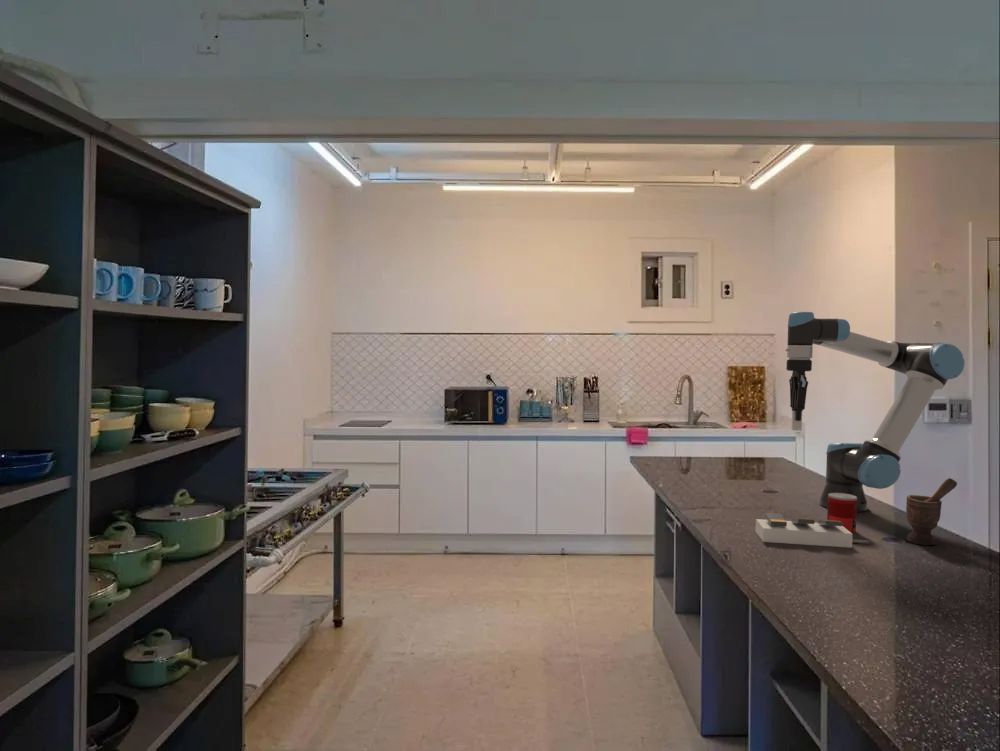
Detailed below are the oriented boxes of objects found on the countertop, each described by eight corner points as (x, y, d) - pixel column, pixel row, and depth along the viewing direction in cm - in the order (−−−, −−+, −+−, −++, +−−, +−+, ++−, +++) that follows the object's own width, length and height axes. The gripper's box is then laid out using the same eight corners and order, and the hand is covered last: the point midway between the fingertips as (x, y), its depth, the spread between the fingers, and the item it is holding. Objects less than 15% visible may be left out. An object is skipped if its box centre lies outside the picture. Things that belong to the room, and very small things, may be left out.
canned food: (859, 535, 194) (861, 499, 193) (831, 533, 195) (832, 497, 195) (850, 527, 201) (852, 493, 200) (823, 526, 203) (825, 491, 202)
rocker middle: (807, 523, 191) (807, 518, 191) (814, 524, 184) (814, 519, 184) (791, 522, 191) (791, 517, 192) (798, 523, 185) (798, 518, 185)
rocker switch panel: (861, 538, 190) (862, 525, 189) (874, 549, 180) (875, 535, 180) (755, 531, 195) (755, 518, 195) (762, 541, 185) (763, 528, 185)
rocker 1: (780, 517, 192) (780, 513, 192) (786, 526, 185) (786, 522, 185) (765, 516, 193) (765, 512, 193) (770, 525, 186) (770, 521, 186)
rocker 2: (834, 524, 189) (833, 520, 189) (842, 526, 182) (842, 521, 183) (818, 523, 190) (818, 519, 190) (825, 525, 183) (825, 520, 183)
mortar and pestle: (945, 540, 189) (948, 474, 188) (956, 549, 181) (960, 480, 180) (900, 536, 192) (904, 471, 191) (909, 545, 184) (913, 477, 183)
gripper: (782, 358, 216) (779, 427, 217) (792, 359, 203) (789, 432, 205) (805, 358, 215) (802, 428, 216) (817, 359, 202) (814, 433, 203)
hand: (796, 430), depth 210 cm, fingers closed
